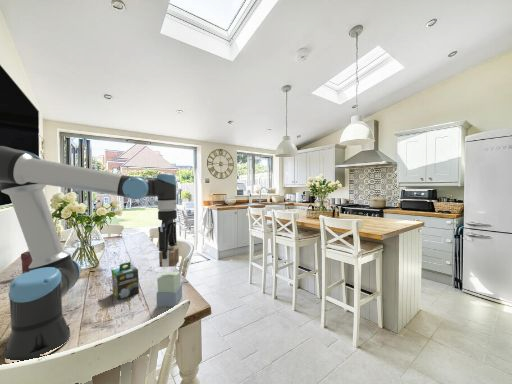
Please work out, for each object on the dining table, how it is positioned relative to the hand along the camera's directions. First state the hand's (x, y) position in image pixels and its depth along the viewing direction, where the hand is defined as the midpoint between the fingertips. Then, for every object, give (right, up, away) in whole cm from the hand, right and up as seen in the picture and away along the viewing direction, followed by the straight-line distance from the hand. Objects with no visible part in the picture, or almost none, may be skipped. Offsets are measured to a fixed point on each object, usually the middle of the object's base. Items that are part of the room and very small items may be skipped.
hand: (168, 263), depth 98 cm
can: (-90, -17, +31) cm, 97 cm away
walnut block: (0, 0, 0) cm, 0 cm away
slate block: (0, -17, +1) cm, 17 cm away
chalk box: (-24, -17, +9) cm, 31 cm away
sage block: (0, -11, 0) cm, 11 cm away
